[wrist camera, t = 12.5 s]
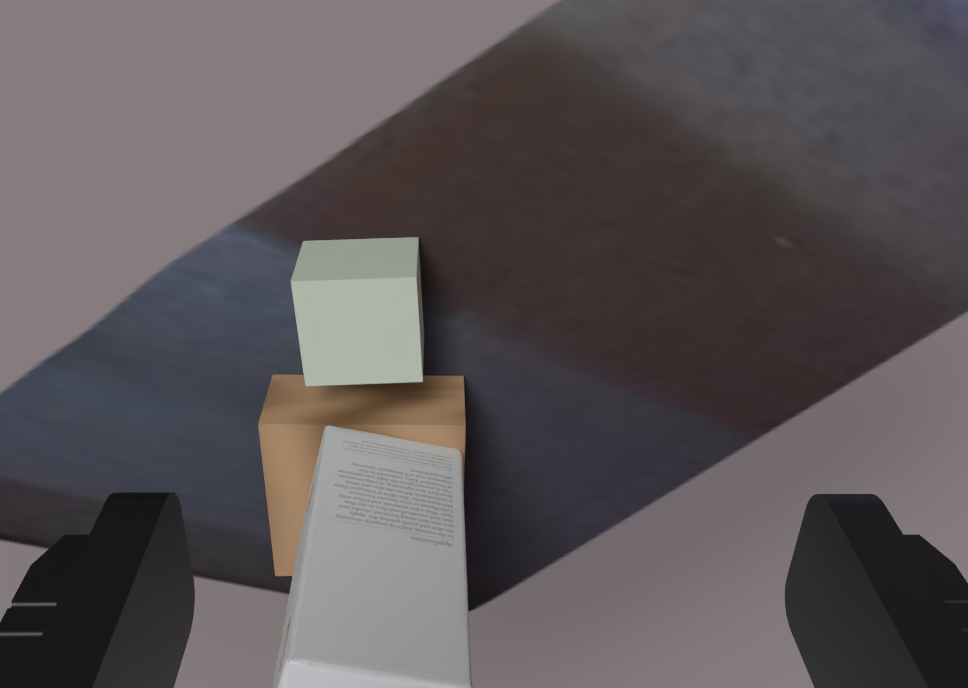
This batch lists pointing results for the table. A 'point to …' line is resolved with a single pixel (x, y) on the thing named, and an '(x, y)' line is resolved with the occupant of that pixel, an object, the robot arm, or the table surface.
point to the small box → (379, 569)
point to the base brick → (365, 407)
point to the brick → (359, 311)
